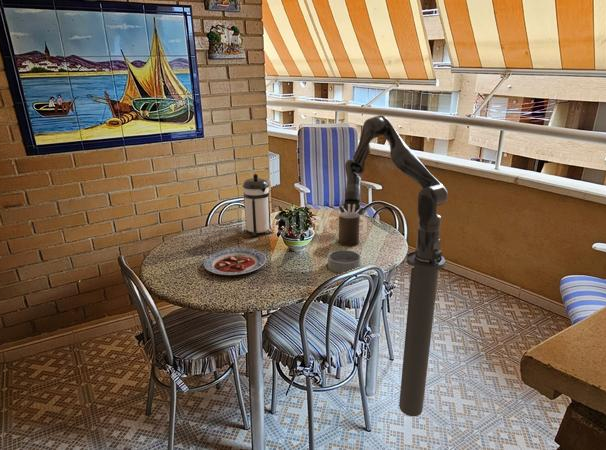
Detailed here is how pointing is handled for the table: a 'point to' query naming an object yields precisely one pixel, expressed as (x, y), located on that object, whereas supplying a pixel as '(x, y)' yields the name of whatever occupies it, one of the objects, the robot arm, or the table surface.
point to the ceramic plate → (234, 261)
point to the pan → (343, 260)
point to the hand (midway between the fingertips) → (350, 225)
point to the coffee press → (257, 205)
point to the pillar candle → (349, 228)
